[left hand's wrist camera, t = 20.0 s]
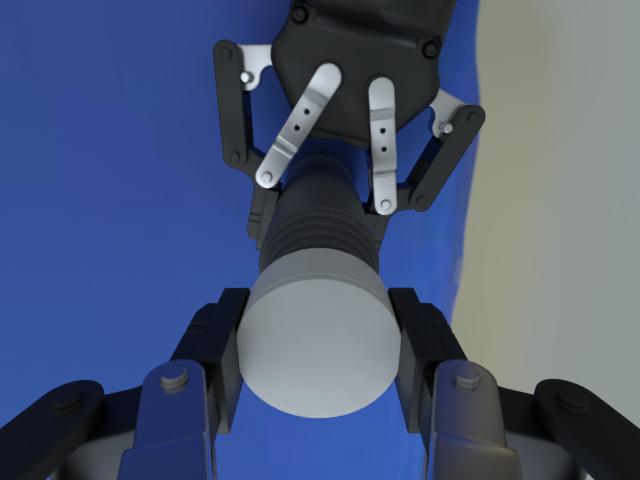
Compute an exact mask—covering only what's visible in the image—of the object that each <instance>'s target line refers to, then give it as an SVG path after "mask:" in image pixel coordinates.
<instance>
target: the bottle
mask: <svg viewBox="0 0 640 480" xmlns="http://www.w3.org/2000/svg"><path fill="white" fill-rule="evenodd" d="M311 248H328V249H334V250H339V251H342V252H345V253H348V254H351V255H353V256H355V257H357V258H359V259H360V260H362V261H363V262H365V263H366V264H367V265H369V266H370V267H371V268H372V269H373V270H374V271H375V272H376V273H377V275H378V276H379V253H378V248H377V245H376V242H375V240H374V237H373V234H372V231H371V229H370V226H369V223H368V220H367V218H366V215H365V212H364V209H363V207H362V204H361V201H360V198H359V196H358V193H357V190H356V187H355V185H354V182H353V179H352V176H351V174H350V172H349V170H348V169H347V167H346V166H345V165H344V164H343V163H342V162H341V161H340V160H338V159H337V158H335V157H332V156H330V155H325V154H313V155H309V156H307V157H304V158H302V159H301V160H299V161H298V162H297V163H296V164H295V165H294V166H293V167H292V168H291V170H290V172H289V174H288V176H287V179H286V181H285V184H284V187H283V189H282V192H281V195H280V197H279V200H278V203H277V205H276V208H275V211H274V213H273V216H272V219H271V222H270V224H269V227H268V230H267V232H266V235H265V238H264V240H263V243H262V246H261V250H260V256H259V274H260V275H261V273H262V272H263V271H264V270H265V269H266V268H267V267H268V266H269V265H271V264H272V263H273V262H275V261H276V260H278V259H279V258H281V257H283V256H285V255H288V254H290V253H292V252H296V251H299V250H303V249H311Z"/></svg>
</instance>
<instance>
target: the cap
mask: <svg viewBox="0 0 640 480" xmlns="http://www.w3.org/2000/svg"><path fill="white" fill-rule="evenodd" d="M400 344H401V332H400V328H399V325H398V322H397V319H396V316H395V313H394V310H393V307H392V304H391V301H390V298H389V295H388V292H387V290H386V288H385V285H384V283H383V282H382V280H381V279H380V277H379V276H378V275H377V273H376V272H375V271H374V270H373V269H372V268H371V267H370V266H369V265H367V264H366V263H365V262H363V261H362V260H360V259H359V258H357V257H355V256H353V255H351V254H348V253H345V252H342V251H339V250H334V249H328V248H311V249H303V250H299V251H296V252H292V253H290V254H288V255H285V256H283V257H281V258H279V259H278V260H276V261H275V262H273V263H272V264H271V265H269V266H268V267H267V268H266V269H265V270H264V271H263V272H262V273H261V275H260V276H259V277H258V279H257V280H256V282H255V284H254V286H253V287H252V290H251V293H250V296H249V299H248V302H247V304H246V307H245V310H244V313H243V316H242V319H241V322H240V325H239V328H238V330H237V345H238V356H239V367H240V373H241V375H242V377H243V379H244V380H245V382H246V383H247V385H248V386H249V387H250V388H251V390H252V391H253V392H254V393H255V394H256V395H257V396H258V397H260V398H261V399H262V400H263V401H265V402H266V403H268V404H269V405H271V406H273V407H275V408H277V409H279V410H281V411H284V412H286V413H290V414H293V415H297V416H302V417H310V418H328V417H336V416H341V415H345V414H348V413H351V412H354V411H357V410H359V409H361V408H363V407H365V406H367V405H368V404H370V403H372V402H373V401H374V400H376V399H377V398H378V397H379V396H381V395H382V394H383V393H384V392H385V391H386V390H387V388H388V387H389V386H390V384H391V383H392V382H393V380H394V378H395V376H396V375H397V373H398V366H399V355H400Z"/></svg>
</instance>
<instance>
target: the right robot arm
mask: <svg viewBox="0 0 640 480" xmlns="http://www.w3.org/2000/svg"><path fill="white" fill-rule="evenodd" d="M456 2H457V0H291V1H290V7H289V12H288V16H287V19H286V22H285V24H284V26H283V28H282V29H281V31H280V32H279V33H278V35H277V36H276V37H275V39H274V40H273V43H272V45H237V44H235V43H233V42H231V41H229V40H220V41H219V42H217V43H216V44H215V46H214V49H213V58H214V69H215V79H216V89H217V99H218V109H219V119H220V129H221V139H222V149H223V158H224V161H225V163H226V164H227V165H228V166H229V167H231V168H237V169H239V170H241V171H242V172H244V173H245V174H247V175H248V176H249V177H250V178H251V179H252V181H253V183H254V193H253V198H252V204H251V210H250V215H249V221H248V226H247V231H248V235H249V238H252V239H257V243H256V249H257V250H261V246H262V243H263V240H264V238H265V235H266V232H267V230H268V227H269V224H270V222H271V219H272V216H273V213H274V211H275V208H276V205H277V203H278V200H279V197H280V195H281V190H282V186H283V183H281V182H280V178H281V176H282V174H283V173H284V171H285V169H286V168H287V166H288V165H289V163H290V162H291V160H292V158H293V157H294V155H295V154H296V153H297V151H298V149H299V148H300V146H301V145H302V143H303V141H304V140H305V138H306V137H307V135H308V134H310V135H309V136H311V137H315V138H319V139H323V140H326V139H340V140H342V141H344V142H346V143H348V144H350V145H351V146H353V147H356V148H361V149H365V153H366V162H367V169H368V182H369V197H368V201H367V203H366V202H363V203H362V207H363V209H364V212H365V215H366V218H367V220H368V223H369V226H370V229H371V231H372V234H373V237H374V240H375V242H376V245H377V248H378V253H379V249H380V246H381V243H382V240H383V237H384V234H385V231H386V227H387V224H388V221H389V219H390V217H391V216H392V215H393V214H394V213H395V212H397V211H401V210H410V209H413V210H415V211H418V212H422V211H425V210H427V209H428V208H429V207H430V206H431V205H432V203H433V201H434V200H435V198H436V197H437V195H438V194H439V192H440V190H441V189H442V187H443V186H444V184H445V183H446V181H447V180H448V178H449V176H450V175H451V173H452V172H453V170H454V169H455V167H456V165H457V164H458V162H459V161H460V159H461V158H462V156H463V155H464V153H465V151H466V150H467V148H468V147H469V145H470V144H471V142H472V140H473V139H474V137H475V136H476V134H477V133H478V131H479V130H480V128H481V126H482V125H483V123H484V121H485V111H484V110H483V108H482V107H480V106H478V105H473V104H467V103H464V102H462V101H460V100H459V99H457V98H455V97H453V96H452V95H450V94H448V93H446V92H445V91H443V90H441V89H440V88H439V87H440V80H439V74H438V59H439V55H440V51H441V49H442V46H443V43H444V39H445V36H446V33H447V30H448V27H449V24H450V21H451V17H452V14H453V11H454V8H455V5H456ZM271 66H273V68H274V70H275V72H276V75H277V77H278V79H279V82H280V84H281V87H282V89H283V91H284V94H285V96H286V98H287V101H288V103H289V106H290V108H291V110H292V113H291V114H290V116H289V118H288V119H287V121H286V123H285V124H284V126H283V128H282V129H281V131H280V133H279V134H278V136H277V138H276V140H275V141H274V143H273V145H272V147H271V148H270V150H269V152H268V153H267V154H265V153H264V152H262V151H261V150H259V149H258V148H256V147H254V140H253V126H252V111H251V97H250V90H256V89H257V88H259V86H260V85H261V83H262V76H263V73H264V71H265V70H266V69H267V68H269V67H271ZM427 107H428V108H429V109H430V112H431V117H430V120H429V123H428V130H429V132H430V134H431V135H432V137H431V139H430V141H429V142H428V144H427V146H426V147H425V149H424V151H423V152H422V154H421V156H420V157H419V159H418V161H417V162H416V164H415V166H414V167H413V169H412V171H411V172H410V174H409V176H408V177H407V179H406V181H405V182H403V183H396V171H397V154H396V133H397V132H398V131H400V130H401V129H402V128H403V127H404V126H406V125H407V124H408V123H409V122H410V121H412V120H413V119H414V118H415V117H416V116H418V115H419V114H420V113H421V112H422V111H424V110H425V109H426V108H427Z"/></svg>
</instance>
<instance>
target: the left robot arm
mask: <svg viewBox="0 0 640 480" xmlns="http://www.w3.org/2000/svg"><path fill="white" fill-rule="evenodd" d="M388 295H389V298H390V301H391V304H392V307H393V310H394V313H395V316H396V319H397V322H398V325H399V328H400V332H401V344H400V355H399V366H398V373H397V375H396V376H395V378H394V380H395V384H396V388H397V392H398V396H399V400H400V404H401V408H402V412H403V416H404V420H405V424H406V428H407V431H408V433H421V437H422V440H423V444H424V447H425V451H424V461H423V476H422V480H585V479H586V477H587V474H589V475H590V476H591V477H592V478H593V479H594V480H640V429H639V428H638V427H637V426H635V425H634V424H633V423H632V422H630V421H629V420H628V419H626V418H625V417H624V416H622V415H621V414H620V413H619V412H617V411H616V410H615V409H613V408H612V407H611V406H609V405H608V404H607V403H605V402H604V401H603V400H602V399H600V398H599V397H598V396H596V395H595V394H594V393H592V392H591V391H589V390H588V389H586V388H584V387H582V386H580V385H578V384H575V383H572V382H569V381H566V380H560V379H547V380H543V381H541V382H539V383H538V384H537V385H536V388H535V391H534V395H532V394H528V393H524V392H520V391H515V390H511V389H507V388H503V387H500V386H498V385H497V382H496V379H495V378H494V376H493V375H492V374H491V373H490V372H489V371H488V370H487V369H485V368H484V367H482V366H480V365H478V364H476V363H474V362H471V361H468V359H467V357H466V356H465V354H464V352H463V350H462V348H461V346H460V345H459V343H458V341H457V339H456V337H455V335H454V334H453V333H452V330H451V328H450V326H449V324H447V321H446V319H445V317H444V315H443V313H442V312H441V311H440V310H439V309H437V308H436V307H435V306H433V305H432V304H431V303H420V301H419V299H418V297H417V295H416V293H415V290H414V289H413V288H389V290H388ZM249 296H250V290H249V288H225V289H224V291H223V293H222V295H221V297H220V299H219V301H218V303H207V304H206V305H205V306H204V307H202V308H201V309H200V310H198V311H197V312H196V313H195V315H194V317H193V319H192V321H191V322H190V325H189V326H188V328H187V330H186V333H185V334H184V335H183V337H182V339H181V340H180V342H179V344H178V346H177V348H176V349H175V351H174V353H173V355H172V357H171V359H170V360H169V362H166V363H164V364H162V365H160V366H158V367H156V368H155V369H153V370H152V371H151V372H150V373H149V374H148V375H147V376H146V378H145V379H144V382H143V385H141V386H139V387H136V388H132V389H129V390H124V391H120V392H116V393H111V394H107V395H105V394H104V390H103V387H102V386H101V385H100V384H99V383H98V382H95V381H91V380H79V381H74V382H70V383H66V384H64V385H61V386H59V387H57V388H55V389H53V390H51V391H49V392H48V393H46V394H45V395H44V396H42V397H41V398H40V399H38V400H37V401H36V402H34V403H33V404H32V405H31V406H29V407H28V408H27V409H25V410H24V411H23V412H21V413H20V414H19V415H18V416H16V417H15V418H14V419H12V420H11V421H10V422H8V423H7V424H6V425H5V426H3V427H2V428H1V429H0V480H46V479H47V478H48V477H49V476H50V479H51V480H218V476H217V461H216V451H215V444H214V442H215V438H216V435H217V434H230V430H231V426H232V422H233V419H234V415H235V411H236V407H237V403H238V400H239V396H240V392H241V388H242V384H243V380H244V379H243V377H242V375H241V373H240V367H239V356H238V345H237V330H238V328H239V325H240V322H241V319H242V316H243V313H244V310H245V307H246V304H247V302H248V299H249Z"/></svg>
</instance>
